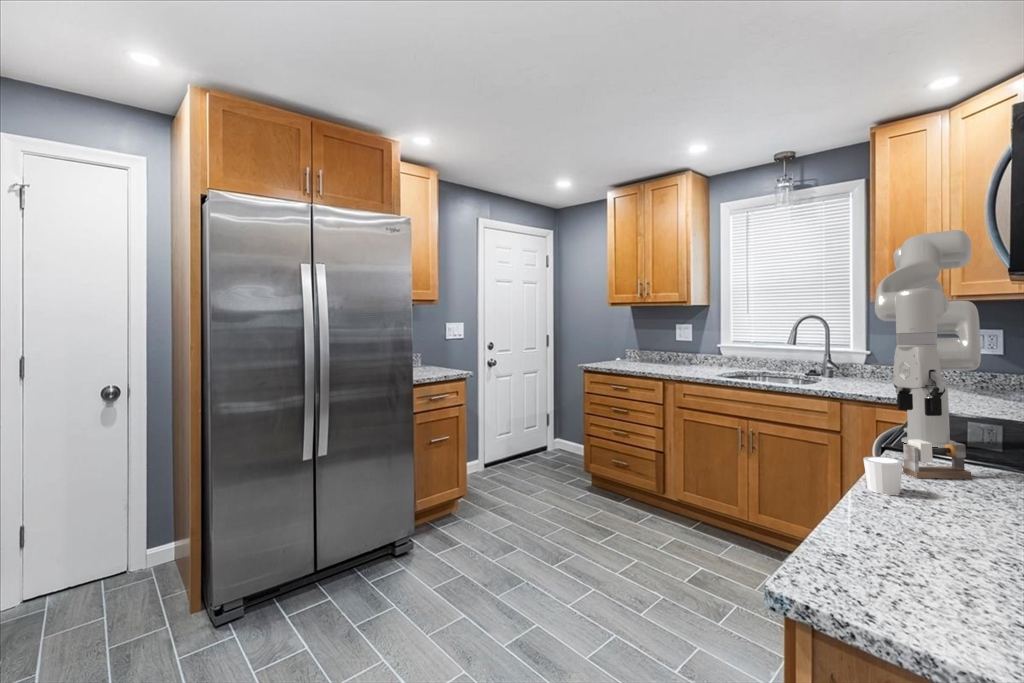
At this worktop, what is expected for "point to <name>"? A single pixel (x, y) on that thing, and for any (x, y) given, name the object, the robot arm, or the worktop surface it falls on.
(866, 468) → the shot glass
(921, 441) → the sleeve
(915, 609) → the worktop surface
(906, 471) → the wooden stand
